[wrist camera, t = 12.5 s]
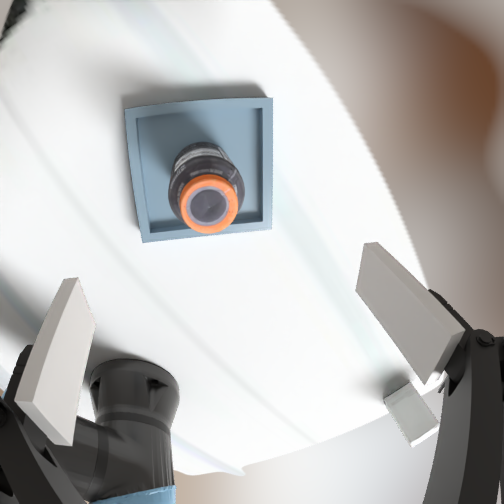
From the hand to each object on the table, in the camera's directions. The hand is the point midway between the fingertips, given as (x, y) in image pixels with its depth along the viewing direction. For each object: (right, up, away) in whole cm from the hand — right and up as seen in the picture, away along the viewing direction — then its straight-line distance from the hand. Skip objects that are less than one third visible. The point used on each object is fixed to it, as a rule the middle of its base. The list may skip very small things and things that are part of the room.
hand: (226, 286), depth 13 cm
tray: (-4, +10, +17) cm, 21 cm away
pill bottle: (-4, +10, +17) cm, 20 cm away
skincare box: (+38, -34, +52) cm, 73 cm away
